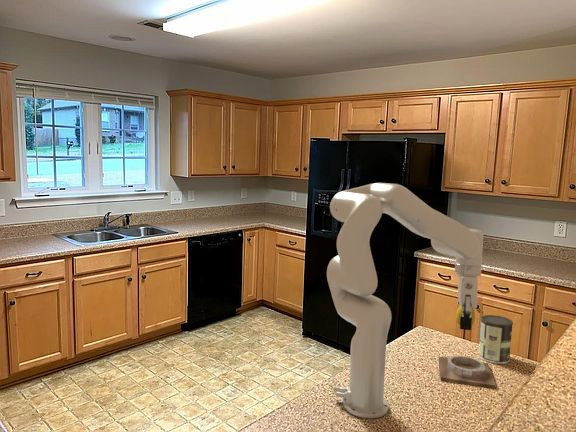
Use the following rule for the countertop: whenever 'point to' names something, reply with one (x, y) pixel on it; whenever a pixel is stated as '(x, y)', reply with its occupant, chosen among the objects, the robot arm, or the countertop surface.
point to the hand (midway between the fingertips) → (464, 325)
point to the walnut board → (450, 377)
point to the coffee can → (495, 339)
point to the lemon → (459, 313)
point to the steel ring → (462, 371)
